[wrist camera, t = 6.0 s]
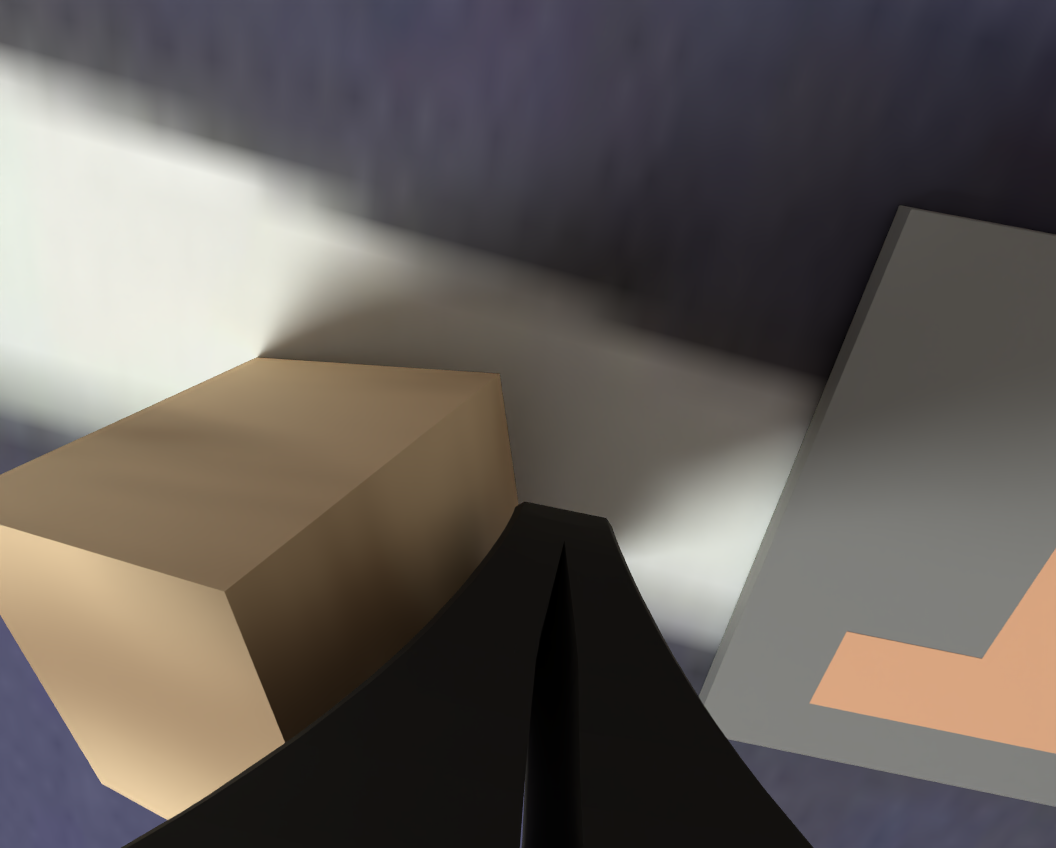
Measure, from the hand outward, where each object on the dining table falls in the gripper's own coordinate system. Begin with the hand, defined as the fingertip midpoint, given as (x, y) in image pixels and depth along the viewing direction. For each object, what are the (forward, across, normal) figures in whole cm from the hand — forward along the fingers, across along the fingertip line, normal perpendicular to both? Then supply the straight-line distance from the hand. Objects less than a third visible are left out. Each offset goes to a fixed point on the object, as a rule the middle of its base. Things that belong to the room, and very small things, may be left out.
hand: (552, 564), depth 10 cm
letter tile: (+3, -9, 0) cm, 10 cm away
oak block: (+2, +3, +1) cm, 4 cm away
